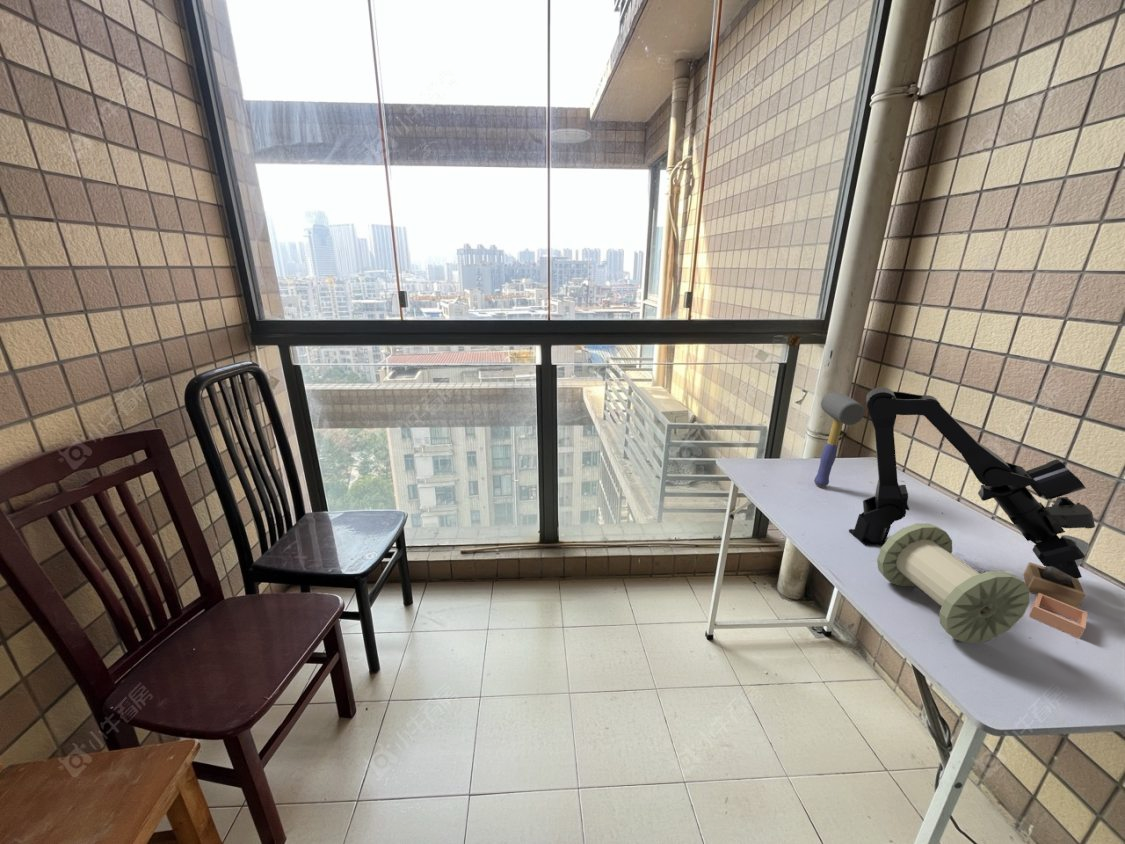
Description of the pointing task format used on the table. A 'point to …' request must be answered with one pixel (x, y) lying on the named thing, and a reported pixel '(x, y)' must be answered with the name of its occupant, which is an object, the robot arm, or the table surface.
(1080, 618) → the socket block
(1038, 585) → the wooden square frame
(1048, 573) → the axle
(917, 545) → the spool
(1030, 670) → the table surface
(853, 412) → the rubber mallet
